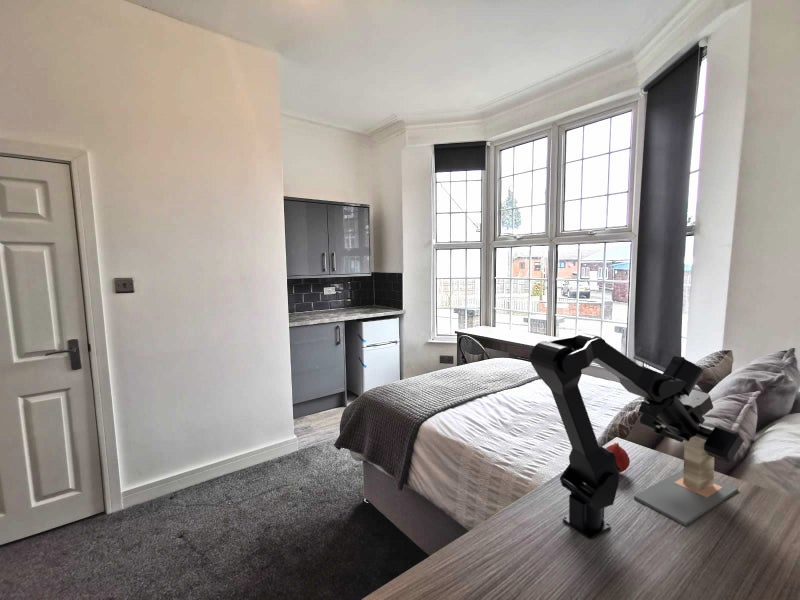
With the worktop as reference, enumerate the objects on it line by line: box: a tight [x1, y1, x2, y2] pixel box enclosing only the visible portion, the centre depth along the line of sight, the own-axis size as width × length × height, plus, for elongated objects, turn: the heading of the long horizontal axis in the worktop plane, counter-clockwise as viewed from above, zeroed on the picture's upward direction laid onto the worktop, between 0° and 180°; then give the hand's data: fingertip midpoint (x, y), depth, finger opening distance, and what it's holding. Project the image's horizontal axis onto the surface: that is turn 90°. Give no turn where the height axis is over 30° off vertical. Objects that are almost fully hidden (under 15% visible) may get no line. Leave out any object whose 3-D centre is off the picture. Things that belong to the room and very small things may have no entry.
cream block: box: [683, 425, 715, 491], centre depth 84 cm, size 5×3×13 cm, turn 109°
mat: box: [633, 468, 739, 526], centre depth 82 cm, size 22×10×1 cm, turn 117°
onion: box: [605, 442, 631, 474], centre depth 91 cm, size 6×6×8 cm
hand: (703, 449), depth 84 cm, fingers open, 9 cm apart
